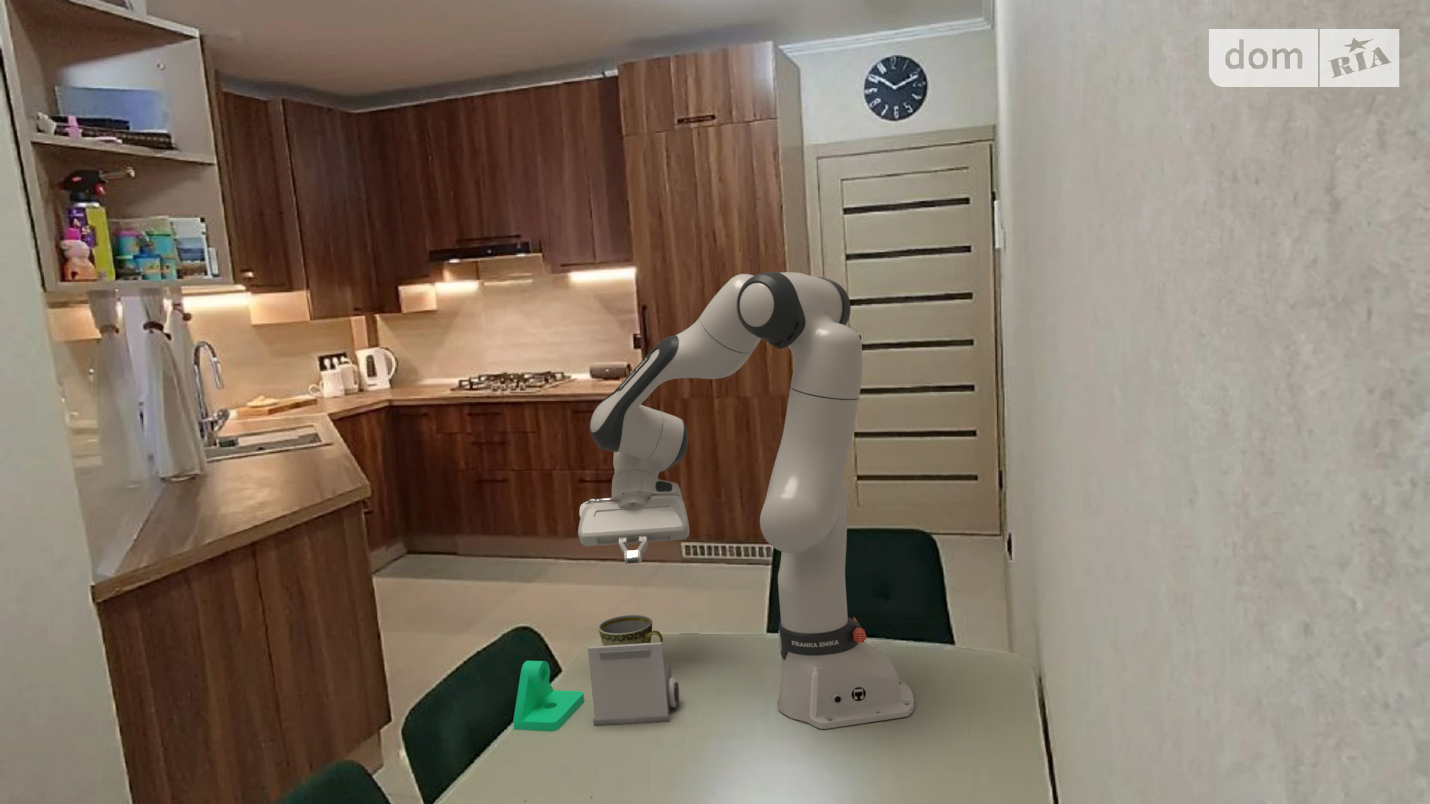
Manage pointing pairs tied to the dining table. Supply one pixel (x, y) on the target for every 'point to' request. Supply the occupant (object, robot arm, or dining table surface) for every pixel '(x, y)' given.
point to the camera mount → (542, 700)
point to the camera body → (671, 688)
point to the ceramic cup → (627, 630)
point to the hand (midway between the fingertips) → (632, 561)
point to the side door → (628, 684)
